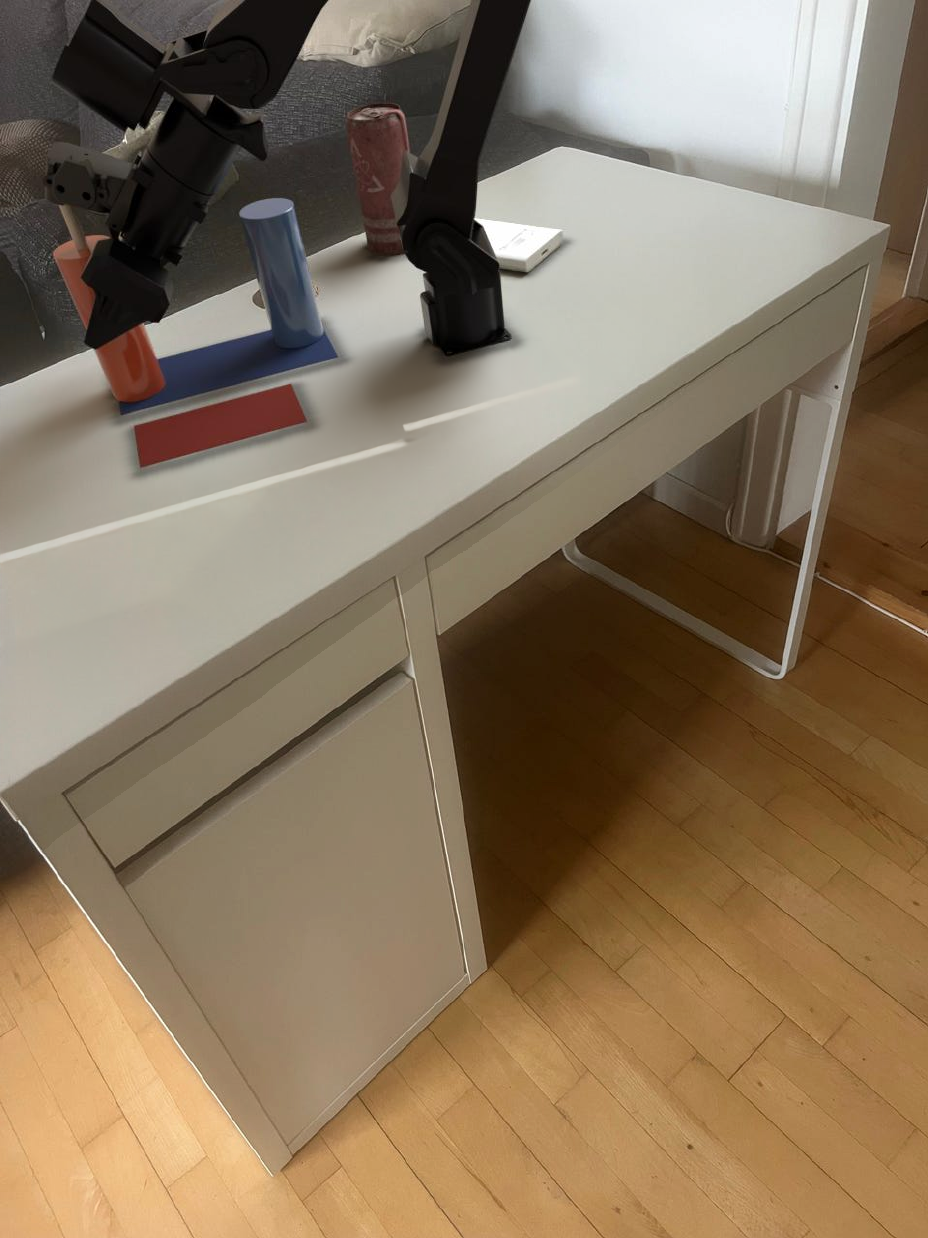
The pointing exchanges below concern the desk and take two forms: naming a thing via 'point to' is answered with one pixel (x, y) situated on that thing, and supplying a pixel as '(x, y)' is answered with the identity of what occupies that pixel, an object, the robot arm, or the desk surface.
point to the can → (378, 170)
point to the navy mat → (229, 366)
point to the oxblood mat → (217, 424)
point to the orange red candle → (125, 356)
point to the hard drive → (520, 243)
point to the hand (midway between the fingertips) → (97, 324)
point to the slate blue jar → (282, 271)
